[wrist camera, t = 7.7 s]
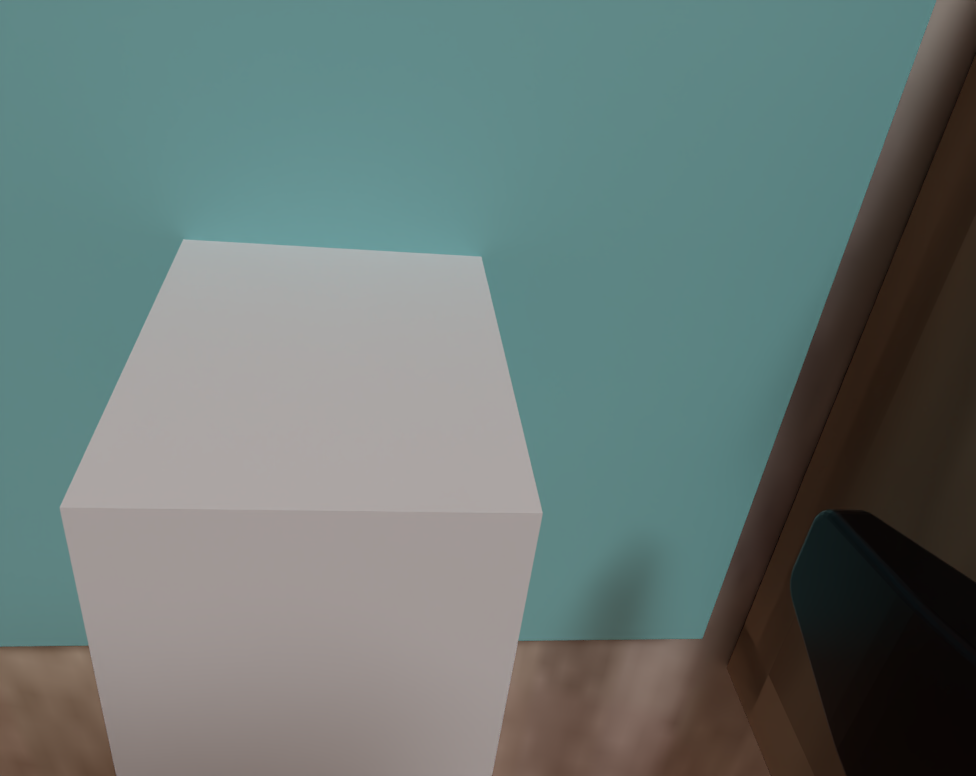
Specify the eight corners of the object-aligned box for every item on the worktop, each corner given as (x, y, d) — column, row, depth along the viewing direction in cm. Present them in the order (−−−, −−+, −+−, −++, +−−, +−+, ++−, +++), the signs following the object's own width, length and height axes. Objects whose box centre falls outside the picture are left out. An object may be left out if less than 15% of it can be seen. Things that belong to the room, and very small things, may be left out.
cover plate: (-60, 579, 12) (-300, 998, 8) (-310, -175, 7) (-1308, -165, 3) (678, 579, 14) (815, 923, 9) (879, -34, 9) (1346, 103, 5)
